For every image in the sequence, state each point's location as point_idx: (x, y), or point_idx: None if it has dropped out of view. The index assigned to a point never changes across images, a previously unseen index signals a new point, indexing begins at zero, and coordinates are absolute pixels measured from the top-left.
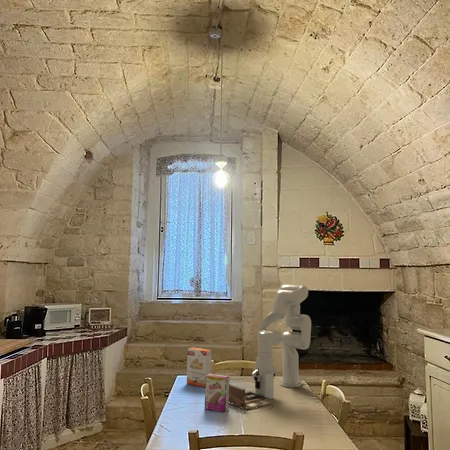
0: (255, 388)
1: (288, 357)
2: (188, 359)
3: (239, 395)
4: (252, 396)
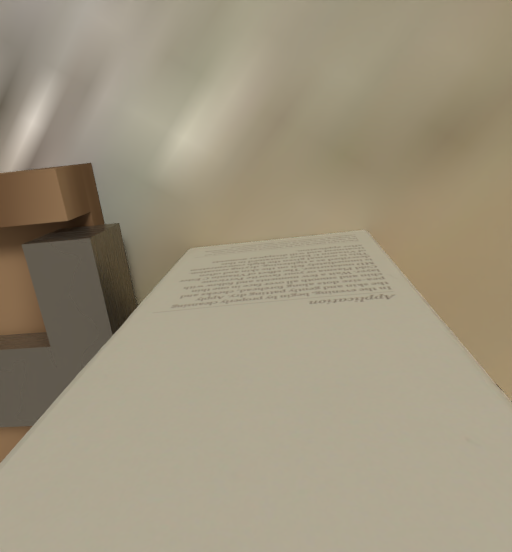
0: (152, 290)
1: None
2: None
3: None
4: (13, 419)
